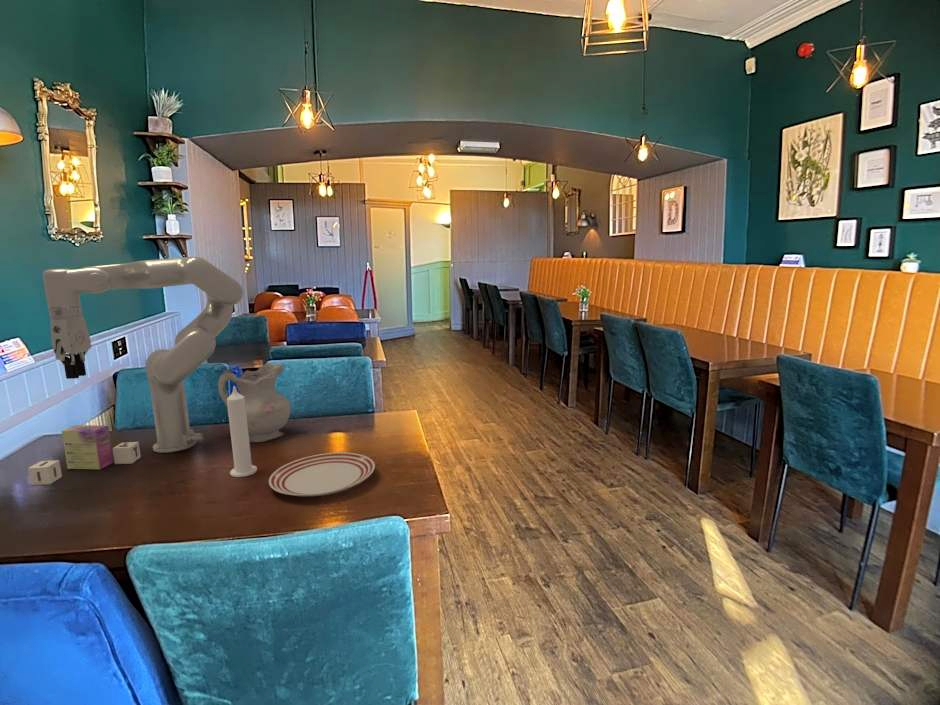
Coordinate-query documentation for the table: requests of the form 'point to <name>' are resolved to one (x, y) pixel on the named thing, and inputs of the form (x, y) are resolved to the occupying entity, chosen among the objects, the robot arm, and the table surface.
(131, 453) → the block seven
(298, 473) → the dinner plate
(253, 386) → the ceramic pitcher
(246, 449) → the candle
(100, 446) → the box
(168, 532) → the table surface
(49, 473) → the block one
